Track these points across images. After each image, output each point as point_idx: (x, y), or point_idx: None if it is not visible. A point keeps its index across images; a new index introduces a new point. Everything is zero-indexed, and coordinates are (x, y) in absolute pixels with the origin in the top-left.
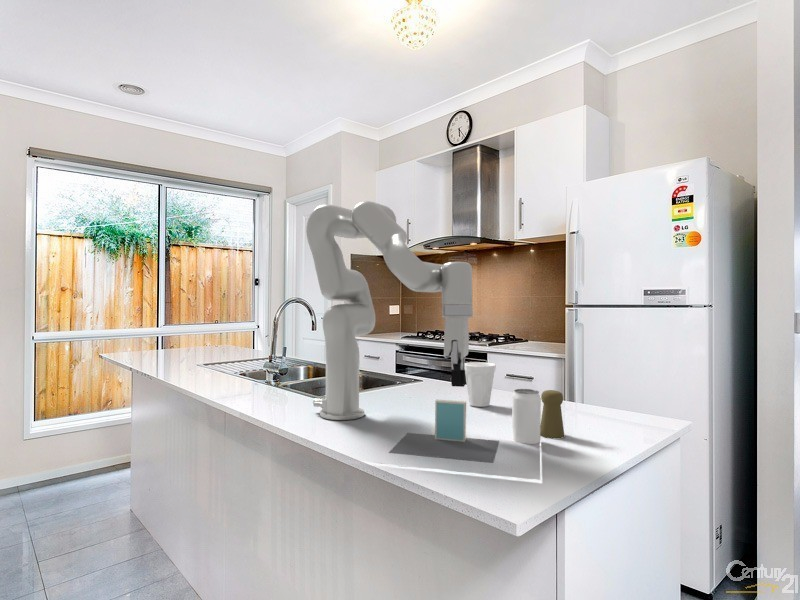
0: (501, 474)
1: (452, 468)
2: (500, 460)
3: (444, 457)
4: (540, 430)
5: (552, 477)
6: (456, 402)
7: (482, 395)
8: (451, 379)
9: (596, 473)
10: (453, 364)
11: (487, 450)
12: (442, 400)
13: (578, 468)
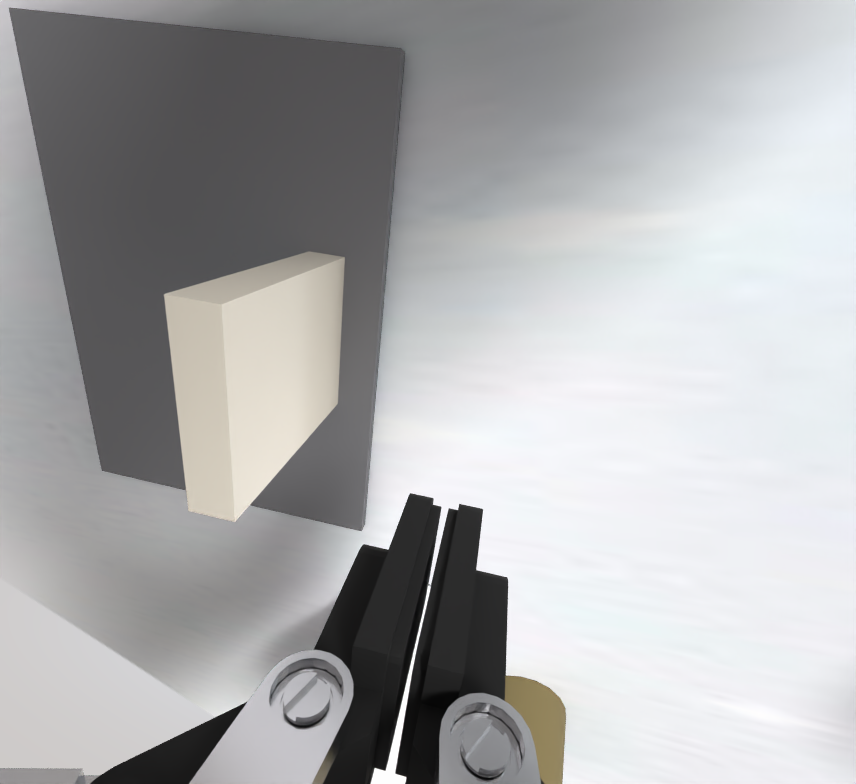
0: (54, 476)
1: (25, 333)
2: (171, 494)
3: (74, 306)
4: (511, 695)
5: (97, 588)
6: (185, 455)
7: None
8: (393, 537)
9: (170, 680)
10: (55, 772)
11: None
12: (198, 355)
13: (189, 660)
